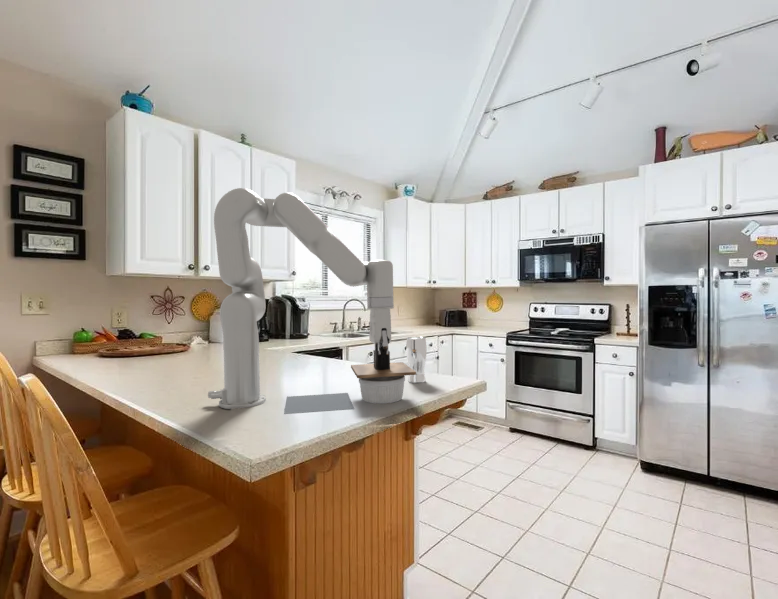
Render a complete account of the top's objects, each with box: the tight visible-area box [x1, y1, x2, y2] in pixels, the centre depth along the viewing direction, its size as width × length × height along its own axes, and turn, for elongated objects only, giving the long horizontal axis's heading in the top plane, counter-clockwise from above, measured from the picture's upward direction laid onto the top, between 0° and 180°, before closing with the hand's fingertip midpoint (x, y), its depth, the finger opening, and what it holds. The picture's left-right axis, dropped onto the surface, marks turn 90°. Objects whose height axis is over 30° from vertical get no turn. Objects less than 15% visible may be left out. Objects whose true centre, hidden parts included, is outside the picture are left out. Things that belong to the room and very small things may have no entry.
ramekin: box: [358, 375, 406, 404], centre depth 121 cm, size 13×13×7 cm
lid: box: [350, 349, 416, 379], centre depth 121 cm, size 16×16×6 cm
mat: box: [283, 392, 355, 415], centre depth 117 cm, size 18×18×1 cm
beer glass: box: [405, 336, 428, 384], centre depth 144 cm, size 7×7×15 cm
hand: (381, 366), depth 121 cm, fingers closed on lid, 4 cm apart
